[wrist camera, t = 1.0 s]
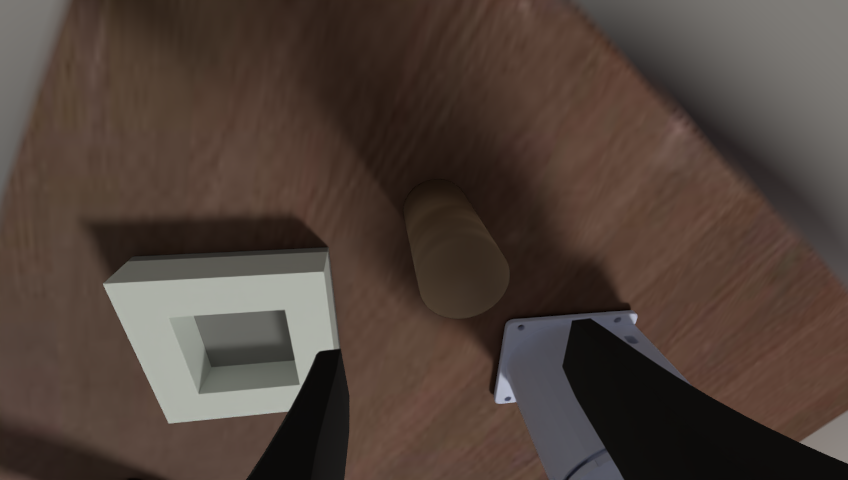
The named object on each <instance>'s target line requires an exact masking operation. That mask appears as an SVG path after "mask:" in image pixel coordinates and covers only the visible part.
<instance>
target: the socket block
mask: <svg viewBox="0 0 848 480" xmlns="http://www.w3.org/2000/svg"><path fill="white" fill-rule="evenodd" d="M103 285H104V287H105V289H106V292H107V294H108V296H109V298H110V300H111V302H112V304H113V306H114V308H115V311H116V313H117V315H118V317H119V319H120V321H121V323H122V325H123V328H124V330H125V332H126V334H127V336H128V338H129V340H130V342H131V344H132V347H133V349H134V351H135V353H136V355H137V357H138V359H139V361H140V364H141V366H142V368H143V370H144V372H145V374H146V376H147V378H148V380H149V383H150V385H151V387H152V389H153V391H154V393H155V395H156V397H157V400H158V402H159V404H160V406H161V408H162V410H163V412H164V414H165V416H166V419H167V421H168V423H178V422H188V421H198V420H208V419H217V418H227V417H237V416H247V415H257V414H267V413H277V412H286V411H289V410H290V408H291V406H292V404H293V402H294V400H295V399H296V397H297V395H298V393H299V391H300V389H301V387H302V385H303V383H304V381H305V379H306V377H307V375H308V372H309V370H310V368H311V366H312V363H313V361H314V359H315V356H316V354H317V353H318V352H319V351H324V350H333V349H340V342H339V334H338V325H337V316H336V308H335V299H334V291H333V282H332V274H331V265H330V256H329V248H328V247H325V248H304V249H283V250H261V251H240V252H219V253H198V254H176V255H155V256H134V257H132V258H131V259H130V260H129V261H127V262H126V263H125V264H124V265H123V266H122V267H121V268H120V269H119V270H118V271H116V272H115V273H114V274H113V275H112V276H111V277H110V278H109V279H108V280H107V281H106V282H104V283H103Z"/></svg>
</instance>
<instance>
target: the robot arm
mask: <svg viewBox="0 0 848 480" xmlns="http://www.w3.org/2000/svg"><path fill="white" fill-rule="evenodd" d="M636 320H637V314H636V313H635V312H634V311H632V310H626V311H613V312H600V313H587V314H574V315H561V316H548V317H535V318H522V319H512V320H509V321H508V322H507V323H506V324H505V329H504V335H503V342H502V348H501V354H500V360H499V366H498V373H497V379H496V385H495V391H494V400H495V402H496V403H499V404H502V403H511V402H517V404H518V407H519V409H520V412H521V414H522V416H523V419H524V421H525V424H526V426H527V428H528V431H529V433H530V436H531V438H532V440H533V443H534V445H535V448H536V450H537V452H538V455H539V457H540V460H541V462H542V465H543V467H544V469H545V472H546V474H547V477H548V479H549V480H848V464H847V463H844V462H842V461H840V460H837V459H835V458H833V457H830V456H828V455H826V454H823V453H821V452H819V451H817V450H815V449H812V448H810V447H808V446H806V445H803V444H801V443H799V442H797V441H795V440H793V439H791V438H789V437H787V436H784V435H782V434H780V433H778V432H776V431H774V430H772V429H770V428H768V427H766V426H764V425H762V424H760V423H758V422H756V421H754V420H752V419H750V418H748V417H746V416H744V415H742V414H741V413H739V412H737V411H735V410H733V409H731V408H730V407H728V406H726V405H724V404H722V403H720V402H719V401H717V400H715V399H713V398H712V397H710V396H708V395H706V394H705V393H703V392H701V391H700V390H698V389H696V388H695V387H693V386H692V385H691V384H690V383H689V382H688V381H687V380H686V379H685V378H684V377H683V376H682V375H681V374H680V372H679V371H678V370H677V369H676V368H675V367H674V366H673V365H672V364H671V363H670V362H669V361H668V360H667V359H666V358H665V357H664V356H663V354H662V353H661V352H660V351H659V350H658V349H657V348H656V347H655V346H654V345H653V344H652V343H651V342H650V341H649V340H648V339H647V338H646V337H645V335H644V334H643V333H642V332H641V331H640V330H639V329H638V328H637V327H636V326H635V322H636ZM519 325H522V326H520V327H518V326H519ZM348 438H349V391H348V386H347V381H346V375H345V370H344V365H343V359H342V354H341V349H333V350H324V351H319V352H318V353H317V354H316V356H315V359H314V361H313V363H312V366H311V368H310V370H309V372H308V375H307V377H306V379H305V381H304V383H303V385H302V387H301V389H300V391H299V393H298V395H297V397H296V399H295V400H294V402H293V404H292V406H291V408H290V410H289V412H288V413H287V415H286V417H285V419H284V421H283V422H282V424H281V426H280V427H279V429H278V431H277V432H276V434H275V436H274V437H273V439H272V441H271V442H270V444H269V446H268V447H267V449H266V451H265V452H264V454H263V455H262V457H261V458H260V460H259V461H258V463H257V464H256V466H255V467H254V469H253V470H252V472H251V473H250V475H249V476H248V478H247V479H246V480H344V476H345V466H346V457H347V447H348Z"/></svg>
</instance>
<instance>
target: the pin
mask: <svg viewBox="0 0 848 480" xmlns="http://www.w3.org/2000/svg"><path fill="white" fill-rule="evenodd" d="M403 215H404V220H405V225H406V229H407V234H408V239H409V244H410V248H411V253H412V258H413V263H414V267H415V272H416V277H417V282H418V286H419V291H420V295H421V298H422V300H423V301H424V303H425V304H426V306H427V307H428V308H429V309H430V310H432V311H433V312H435V313H436V314H439V315H441V316H444V317H448V318H455V319H461V318H469V317H473V316H476V315H479V314H481V313H483V312H485V311H487V310H488V309H490V308H491V307H493V306H494V305H495V304H496V303H497V302H498V301H499V300H500V299H501V297H502V296H503V295H504V293H505V291H506V289H507V287H508V284H509V279H510V269H509V265H508V263H507V260H506V259H505V257H504V256H503V254H502V252H501V251H500V249H499V248H498V246H497V245H496V243H495V241H494V240H493V238H492V237H491V235H490V234H489V232H488V231H487V229H486V227H485V226H484V224H483V223H482V221H481V220H480V218H479V216H478V215H477V213H476V212H475V210H474V209H473V207H472V206H471V204H470V202H469V201H468V199H467V198H466V196H465V195H464V193H463V191H462V190H461V189H460V188H459V187H458V186H457V185H455V184H454V183H452V182H450V181H447V180H442V179H434V180H428V181H425V182H423V183H421V184H419V185H418V186H416V187H415V188H414V189H413V190H412V191H411V192H410V193H409V195H408V196H407V198H406V200H405V203H404V208H403Z"/></svg>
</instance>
